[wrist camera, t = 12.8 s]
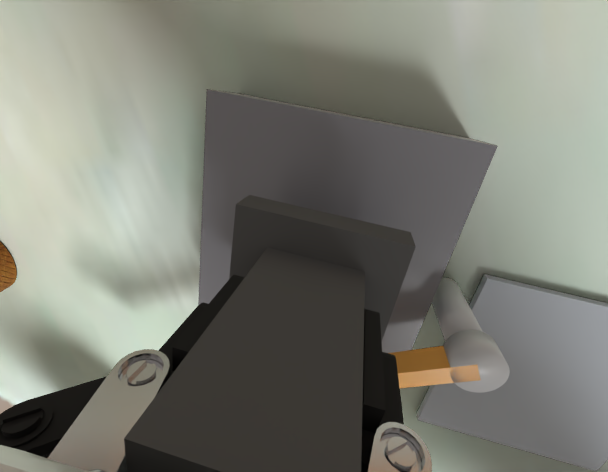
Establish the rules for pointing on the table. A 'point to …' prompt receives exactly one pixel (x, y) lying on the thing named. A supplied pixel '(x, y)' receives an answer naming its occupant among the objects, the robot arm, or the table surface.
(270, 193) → the socket
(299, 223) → the plug
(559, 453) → the mat
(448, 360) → the orange rod with ball
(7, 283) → the disposable coffee cup
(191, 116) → the table surface
